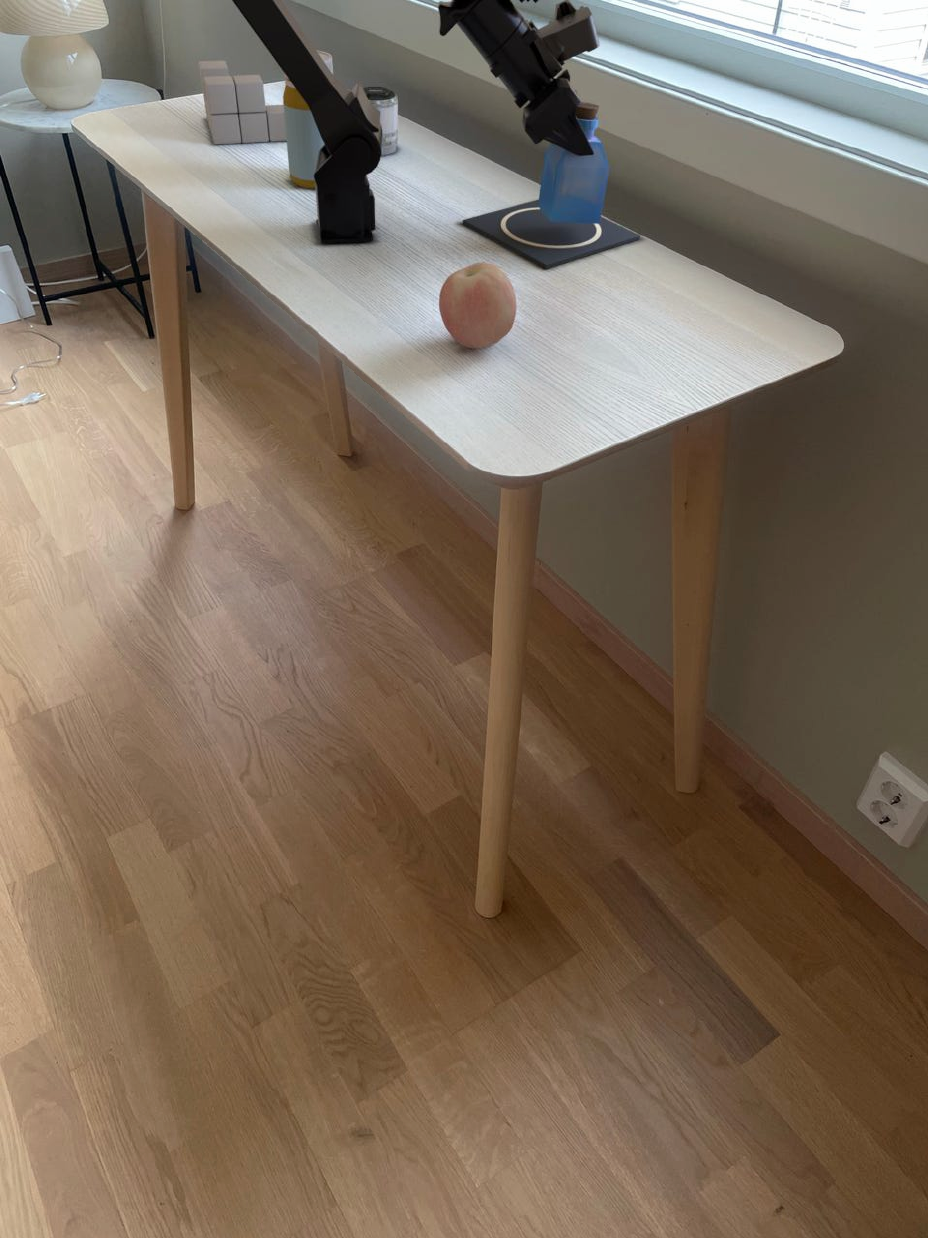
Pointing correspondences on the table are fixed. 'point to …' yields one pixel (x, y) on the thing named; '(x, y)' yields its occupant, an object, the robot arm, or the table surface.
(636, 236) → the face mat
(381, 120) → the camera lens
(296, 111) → the bottle
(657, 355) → the table surface
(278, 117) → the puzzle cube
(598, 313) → the table surface
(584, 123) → the perfume bottle
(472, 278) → the apple
